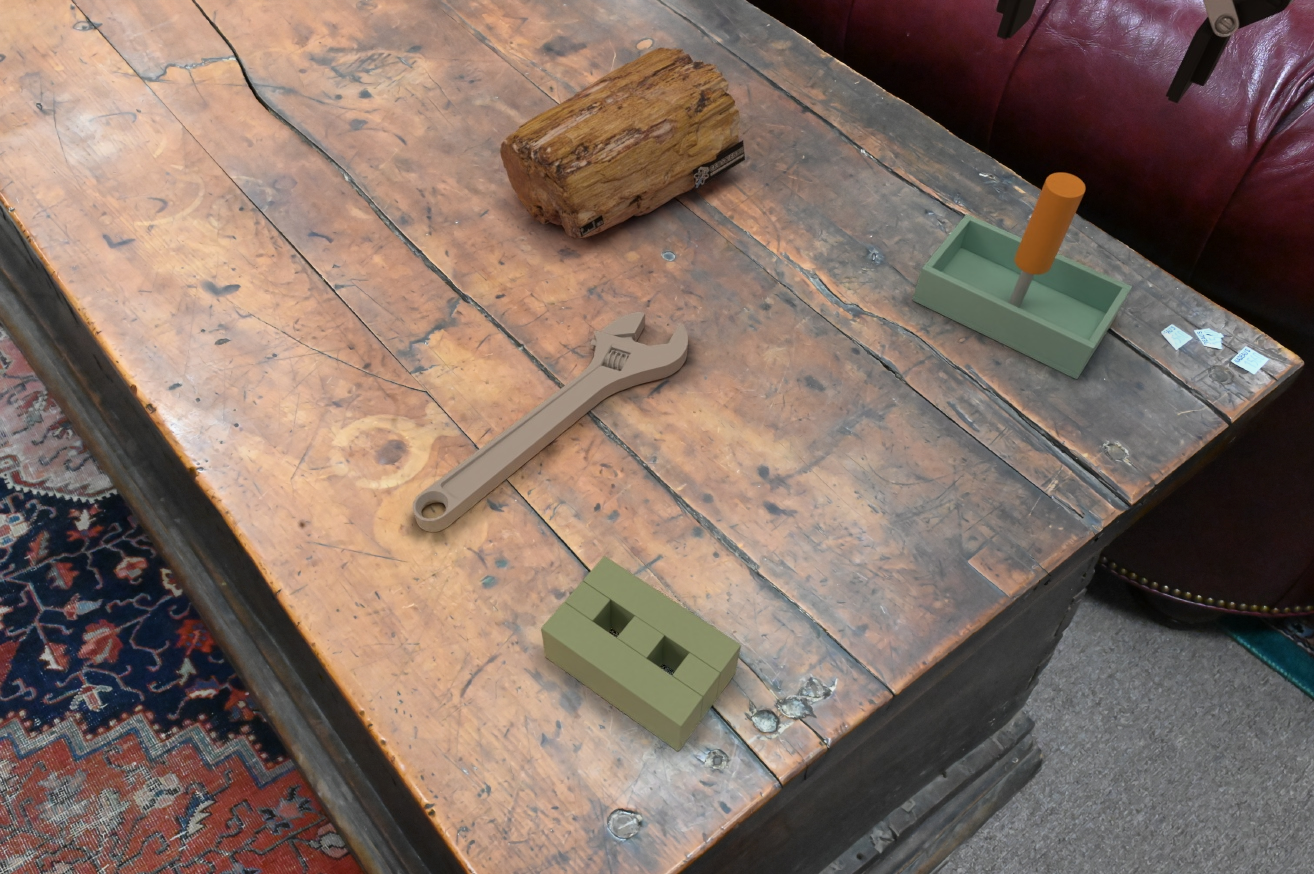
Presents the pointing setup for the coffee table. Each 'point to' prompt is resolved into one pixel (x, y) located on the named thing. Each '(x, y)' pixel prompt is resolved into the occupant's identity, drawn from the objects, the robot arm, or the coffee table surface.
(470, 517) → the coffee table surface
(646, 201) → the petrified wood
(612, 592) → the holder
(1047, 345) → the tray
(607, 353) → the adjustable wrench
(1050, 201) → the orange handle
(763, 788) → the coffee table surface
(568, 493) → the coffee table surface
